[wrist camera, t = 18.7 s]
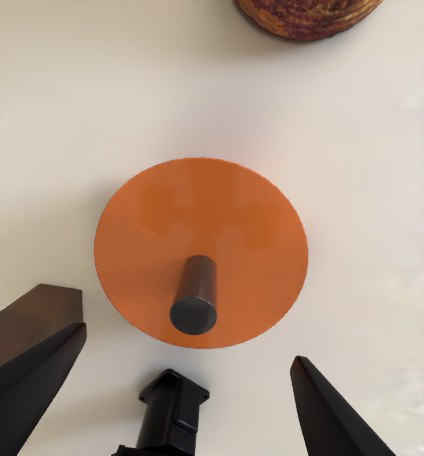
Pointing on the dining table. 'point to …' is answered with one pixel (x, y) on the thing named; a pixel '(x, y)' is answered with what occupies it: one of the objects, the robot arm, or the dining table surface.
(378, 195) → the dining table surface
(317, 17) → the bell
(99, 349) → the dining table surface
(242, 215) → the lid
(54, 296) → the block
